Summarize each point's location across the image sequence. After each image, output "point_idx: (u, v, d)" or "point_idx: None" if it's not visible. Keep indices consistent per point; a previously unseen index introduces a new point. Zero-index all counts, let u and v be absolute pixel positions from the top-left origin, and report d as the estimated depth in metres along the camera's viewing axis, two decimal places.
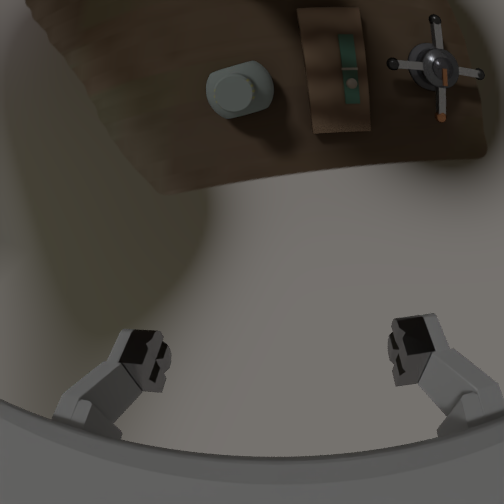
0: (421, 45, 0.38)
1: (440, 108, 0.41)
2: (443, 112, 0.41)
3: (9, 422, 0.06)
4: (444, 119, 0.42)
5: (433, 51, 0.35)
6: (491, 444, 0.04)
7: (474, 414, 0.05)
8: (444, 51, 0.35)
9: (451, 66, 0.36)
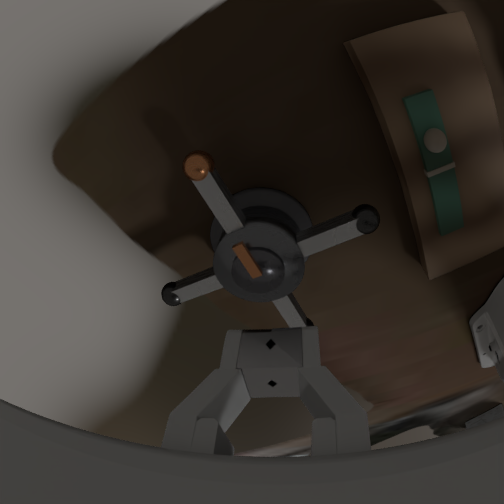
0: None
1: (212, 185, 0.21)
2: (200, 181, 0.21)
3: (9, 422, 0.06)
4: (189, 169, 0.20)
5: (290, 287, 0.25)
6: (491, 444, 0.04)
7: (324, 442, 0.06)
8: (268, 298, 0.26)
9: (243, 285, 0.24)
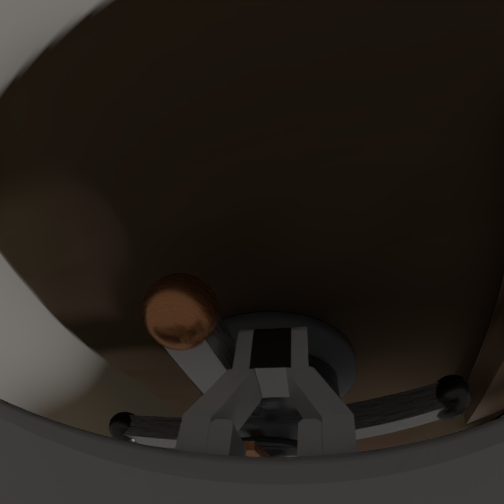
0: None
1: (209, 362, 0.09)
2: (183, 352, 0.09)
3: (9, 422, 0.06)
4: (157, 332, 0.08)
5: None
6: (491, 444, 0.04)
7: (309, 443, 0.06)
8: None
9: None
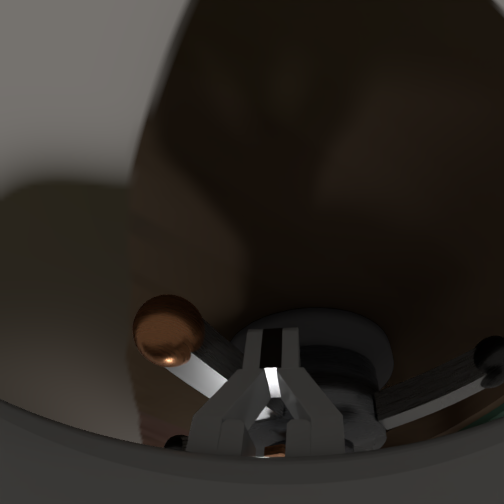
0: None
1: (207, 373, 0.09)
2: (180, 367, 0.09)
3: (9, 422, 0.06)
4: (146, 353, 0.08)
5: None
6: (491, 444, 0.04)
7: (298, 443, 0.06)
8: None
9: None
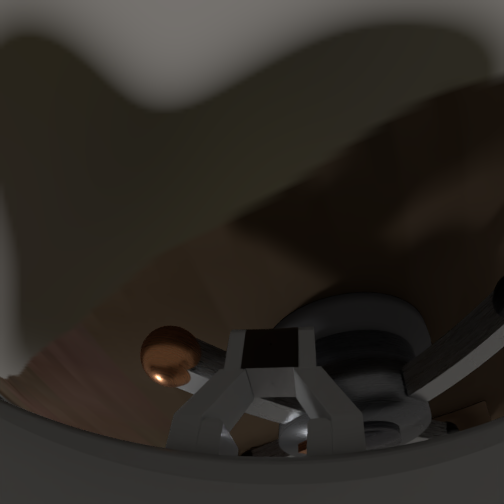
0: None
1: None
2: (188, 385, 0.10)
3: (9, 422, 0.06)
4: (153, 378, 0.10)
5: (415, 433, 0.11)
6: (491, 444, 0.04)
7: (319, 442, 0.06)
8: None
9: None
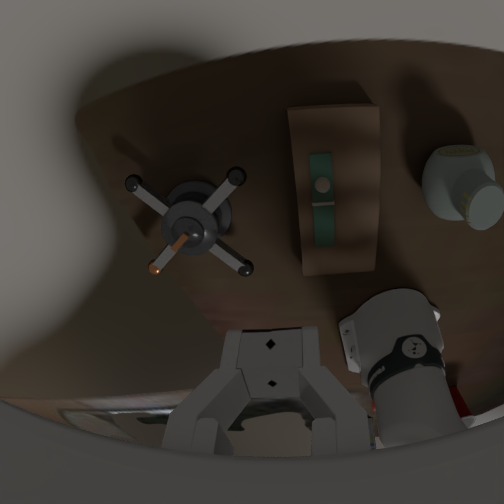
0: None
1: (157, 262, 0.41)
2: (158, 267, 0.41)
3: (9, 422, 0.06)
4: (153, 273, 0.41)
5: (191, 208, 0.35)
6: (491, 444, 0.04)
7: (324, 442, 0.06)
8: (208, 217, 0.36)
9: (200, 238, 0.37)
